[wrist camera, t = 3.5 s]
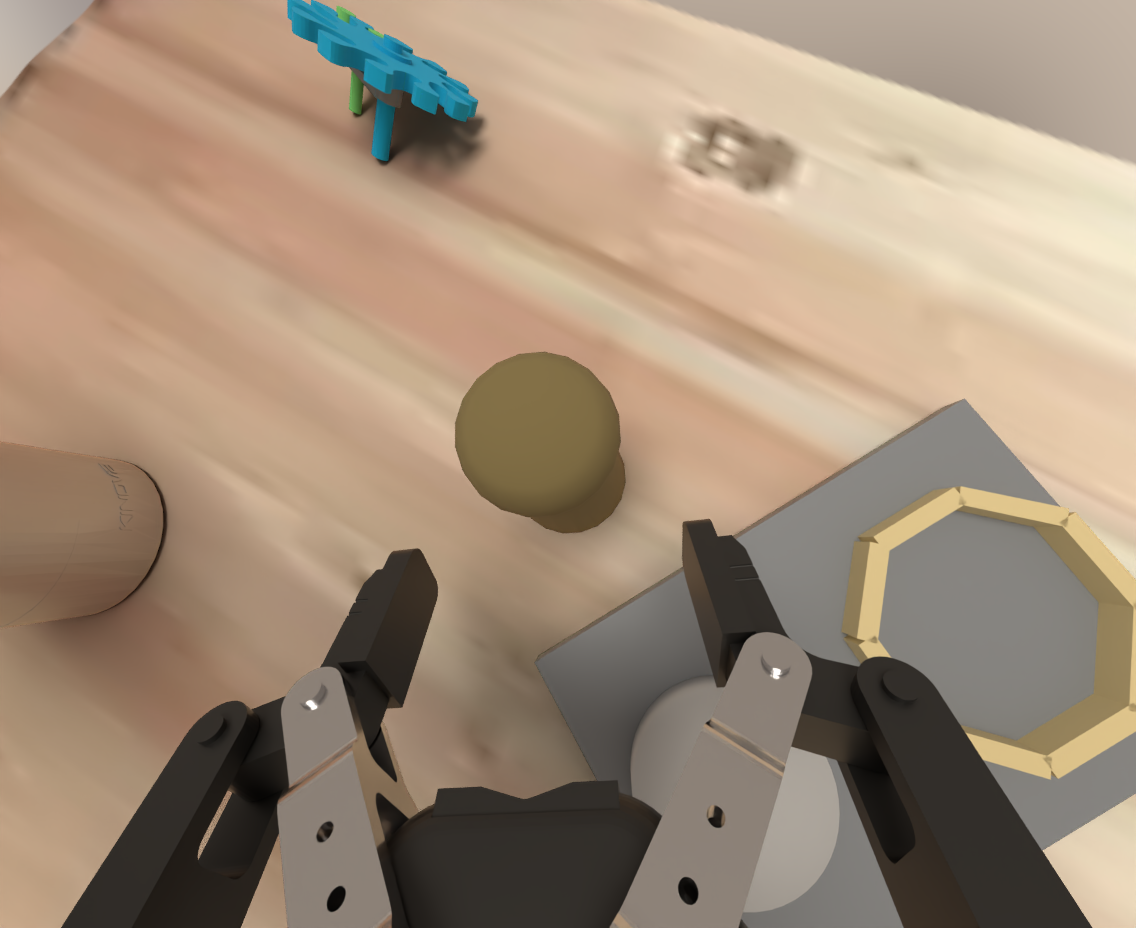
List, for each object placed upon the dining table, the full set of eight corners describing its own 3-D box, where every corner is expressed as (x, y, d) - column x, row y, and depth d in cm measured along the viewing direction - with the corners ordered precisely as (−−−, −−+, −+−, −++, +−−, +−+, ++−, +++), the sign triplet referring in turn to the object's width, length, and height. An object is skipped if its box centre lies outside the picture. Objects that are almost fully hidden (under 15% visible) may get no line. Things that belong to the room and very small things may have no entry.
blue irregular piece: (510, 114, 25) (327, 32, 18) (480, 213, 29) (321, 177, 22) (429, 38, 28) (253, -53, 22) (413, 135, 32) (259, 84, 26)
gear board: (726, 1005, 17) (755, 1127, 14) (538, 655, 21) (523, 680, 17) (1208, 710, 17) (1364, 755, 14) (944, 406, 21) (1014, 378, 17)
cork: (565, 400, 23) (523, 281, 12) (649, 471, 22) (684, 408, 11) (492, 481, 23) (381, 431, 12) (572, 557, 21) (531, 579, 11)
